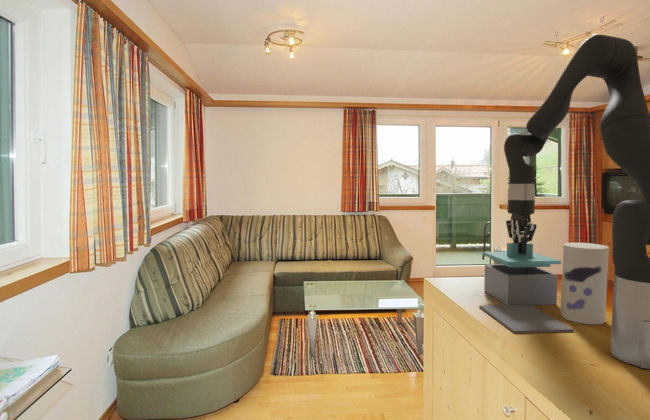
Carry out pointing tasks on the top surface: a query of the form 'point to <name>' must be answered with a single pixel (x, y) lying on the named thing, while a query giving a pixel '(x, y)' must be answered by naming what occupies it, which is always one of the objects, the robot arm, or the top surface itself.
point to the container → (584, 282)
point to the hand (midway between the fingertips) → (519, 253)
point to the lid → (521, 257)
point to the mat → (525, 319)
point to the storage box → (521, 285)
